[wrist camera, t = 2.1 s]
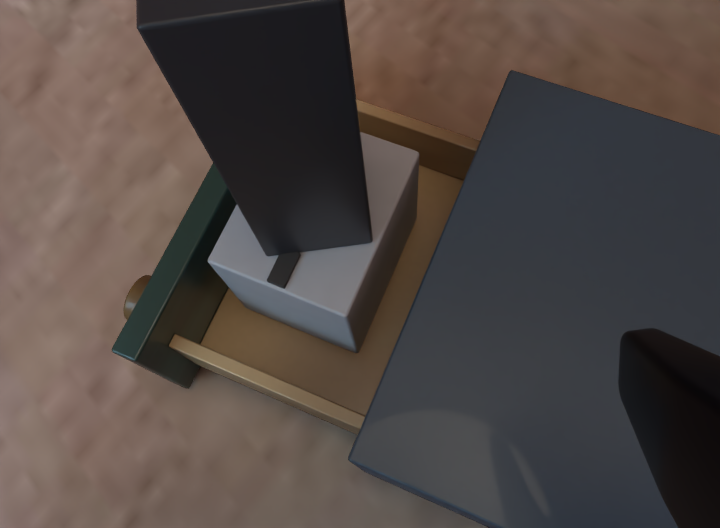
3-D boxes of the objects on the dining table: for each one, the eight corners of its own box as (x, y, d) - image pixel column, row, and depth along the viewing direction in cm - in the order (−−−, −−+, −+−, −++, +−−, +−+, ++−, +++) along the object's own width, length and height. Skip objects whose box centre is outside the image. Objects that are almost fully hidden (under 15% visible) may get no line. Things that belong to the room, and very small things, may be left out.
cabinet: (362, 471, 21) (346, 460, 15) (484, 172, 24) (510, 68, 18) (761, 649, 19) (920, 716, 13) (840, 294, 22) (996, 221, 16)
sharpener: (358, 354, 21) (286, 131, 8) (244, 307, 22) (17, 36, 9) (417, 217, 22) (434, -156, 10) (308, 177, 23) (191, -217, 10)
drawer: (142, 368, 22) (77, 336, 18) (283, 101, 25) (257, 17, 21) (527, 541, 20) (563, 553, 16) (632, 221, 23) (686, 155, 19)
